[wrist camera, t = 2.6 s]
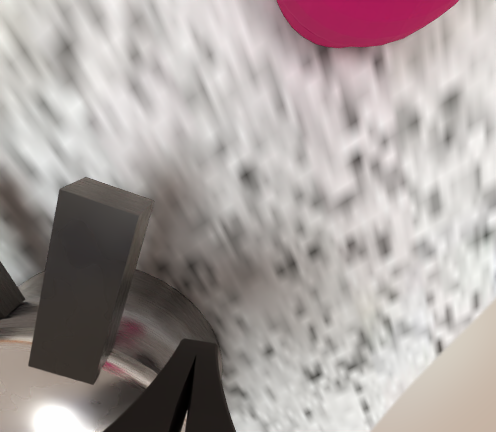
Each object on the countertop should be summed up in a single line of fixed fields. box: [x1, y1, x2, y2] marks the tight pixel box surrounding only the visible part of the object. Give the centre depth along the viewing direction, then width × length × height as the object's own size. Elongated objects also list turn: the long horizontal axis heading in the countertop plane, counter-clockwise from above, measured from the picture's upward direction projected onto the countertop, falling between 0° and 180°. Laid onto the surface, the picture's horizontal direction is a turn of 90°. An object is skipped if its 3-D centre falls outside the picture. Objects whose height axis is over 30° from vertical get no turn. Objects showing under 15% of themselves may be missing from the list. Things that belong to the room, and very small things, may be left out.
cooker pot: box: [0, 262, 223, 381], centre depth 19 cm, size 15×24×6 cm, turn 20°
